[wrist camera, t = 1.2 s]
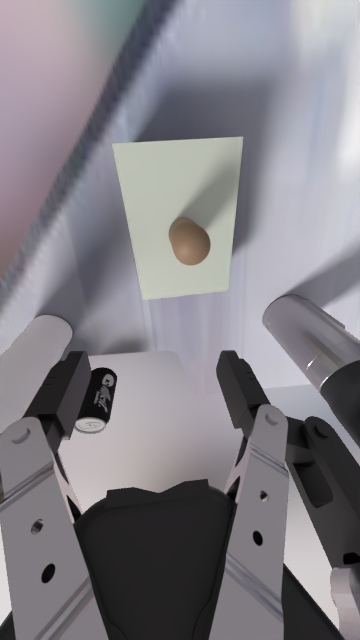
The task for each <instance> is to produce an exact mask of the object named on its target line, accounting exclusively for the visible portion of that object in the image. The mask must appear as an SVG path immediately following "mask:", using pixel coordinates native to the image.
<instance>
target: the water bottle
mask: <svg viewBox="0 0 360 640" xmlns="http://www.w3.org/2000/svg"><path fill="white" fill-rule="evenodd" d="M72 334H73V333H72V329H71V327H70V325H69V324H68V323H67V322H66V321H64V320H63V319H61V318H59V317H56V316H52V315H42V316H39V317H36V318H35V319H33V320H32V321H31V322H30V324H29V325H28V326H27V327H26V329H25V330H24V332H22V333H21V334H20V335H19V336H18V337H17V338H16V339H15V340H14V342H13V343H12V345H11V347H10V348H9V349H8V350H6V351H5V352H4V353H3V354H2V355H1V356H0V434H1V433H2V432H3V431H4V430H5V429H6V428H7V427H8V426H9V425H11V424H12V423H14V422H15V421H17V420H19V419H21V418H22V417H23V415H24V414H25V412H26V410H27V409H28V407H29V405H30V403H31V402H32V400H33V398H34V397H35V395H36V393H37V391H38V390H39V388H40V386H42V383H43V381H44V379H46V376H47V374H48V373H49V371H50V369H51V368H52V367H53V366H54V365H55V364H56V363H57V362H58V361H59V360H60V358H61V356H62V354H63V352H64V349H65V348H66V346H67V345H68V344H69V342H70V340H71V338H72Z"/></svg>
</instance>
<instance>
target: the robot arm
mask: <svg viewBox="0 0 360 640" xmlns="http://www.w3.org/2000/svg"><path fill="white" fill-rule="evenodd" d="M263 324H264V326H265V327H266V328H267V330H268V331H269V332H270V333H271V334H272V336H273V337H274V338H275V339H276V341H277V342H278V343H279V344H280V345H281V347H282V348H283V349H284V350H285V352H286V353H287V354H288V355H289V356H290V358H291V359H292V360H293V361H294V363H295V364H296V365H297V366H298V367H299V369H300V370H301V371H302V372H303V373H304V375H305V376H306V377H307V378H308V379H309V381H310V382H311V383H312V384H313V385H314V387H315V388H316V389H317V390H318V391H319V393H320V394H321V395H322V396H323V398H324V399H325V400H326V401H327V403H328V404H329V406H330V408H331V410H332V411H333V413H334V415H335V416H336V418H337V419H338V420H339V422H340V423H341V424H342V426H343V427H344V428H345V429H346V431H347V432H348V433H349V434H350V436H351V437H352V439H353V440H354V441H355V443H356V444H357V445H358V446H359V448H360V340H358V339H357V338H356V337H354V336H353V335H351V334H350V333H349V332H347V331H346V330H345V326H344V325H343V324H342V323H340V322H339V321H338V320H336V319H335V318H333V317H332V316H331V315H329V314H328V313H326V312H325V311H323V310H322V309H321V308H319V307H318V306H316V305H315V304H314V303H312V302H311V301H309V300H308V299H306V300H304V299H302V298H301V297H299V296H296V295H288V296H284V297H281V298H279V299H277V300H276V301H274V302H273V303H272V304H271V305H270V306H269V307H268V308H267V310H266V311H265V313H264V316H263ZM216 373H217V378H218V381H219V384H220V387H221V390H222V393H223V396H224V399H225V402H226V404H227V408H228V411H229V413H230V417H231V420H232V423H233V426H234V428H235V429H236V428H242V431H243V435H242V438H241V442H240V445H239V449H238V452H237V455H236V459H235V462H234V466H233V469H232V472H231V474H230V477H229V479H228V482H227V484H226V487H225V491H224V493H223V492H222V491H220V490H219V489H216V488H214V487H212V486H209V485H208V479H203V480H194V481H186V482H182V483H180V484H178V485H176V486H174V487H172V488H170V489H168V490H166V491H163V492H161V493H156V492H151V491H147V490H143V489H139V488H134V487H132V488H122V489H114V490H108V491H107V495H106V498H104V499H102V500H100V501H99V502H97V503H95V504H94V505H92V506H91V507H90V508H89V509H88V510H87V511H85V513H83V512H82V509H81V507H80V504H79V501H78V499H77V497H76V495H75V493H74V491H73V488H72V486H71V483H70V481H69V478H68V476H67V473H66V470H65V468H64V465H63V462H62V459H61V457H60V454H59V451H58V448H59V446H60V443H61V440H70V437H71V434H72V431H73V429H74V426H75V423H76V420H77V417H78V414H79V411H80V408H81V405H82V402H83V399H84V396H85V393H86V391H87V388H88V385H89V382H90V378H91V367H90V363H89V359H88V355H87V352H86V351H71V352H70V353H69V354H68V356H67V358H66V360H65V361H59V362H58V363H56V364H55V365H54V366H53V367H52V368H51V369H50V371H49V373H48V374H47V376H46V379H44V381H43V383H42V386H40V388H39V390H38V391H37V393H36V395H35V397H34V398H33V400H32V402H31V403H30V405H29V407H28V409H27V410H26V412H25V414H24V415H23V417H22V418H21V419H19V420H17V421H15V422H14V423H12V424H11V425H9V426H8V427H7V428H6V429H5V430H4V431H3V432H2V433H1V434H0V489H2V488H3V491H4V500H3V501H2V502H1V503H0V524H1V532H2V539H3V546H4V554H5V561H6V569H7V576H8V584H9V591H10V598H11V605H12V611H11V612H10V613H9V615H8V616H7V617H6V619H5V620H4V622H3V623H2V625H1V626H0V640H360V466H359V464H358V463H357V462H356V460H355V459H354V457H353V456H352V454H351V453H350V452H349V450H348V449H347V447H346V446H345V444H344V443H343V442H342V440H341V439H340V437H339V436H338V434H337V433H336V432H335V430H334V429H333V428H332V427H331V426H330V425H329V424H328V423H327V422H325V421H324V420H322V419H320V418H318V417H314V416H311V417H308V418H307V419H306V420H305V421H301V420H298V419H294V418H291V417H287V416H285V415H284V414H283V413H282V412H281V411H280V410H279V409H278V408H276V407H275V406H272V405H271V404H270V402H269V400H268V399H267V397H266V395H265V393H264V391H263V389H262V387H261V385H260V384H259V382H258V380H257V378H256V376H255V374H253V371H252V369H251V367H250V365H249V364H248V363H247V362H246V361H245V360H244V359H239V357H238V355H237V353H236V352H235V351H234V350H228V351H222V352H221V354H220V358H219V361H218V364H217V368H216ZM285 461H286V463H287V466H288V468H289V470H290V472H291V475H292V477H293V480H294V482H295V484H296V486H297V489H298V491H299V493H300V496H301V498H302V500H303V503H304V505H305V507H306V510H307V512H308V514H309V516H310V519H311V521H312V523H313V526H314V528H315V530H316V533H317V535H318V537H319V539H320V542H321V544H322V546H323V549H324V551H325V553H326V555H327V557H328V560H329V562H330V565H331V567H332V569H333V570H332V572H331V577H330V583H331V596H332V599H333V602H334V604H335V606H336V607H337V610H338V614H339V624H340V627H339V630H338V629H337V628H336V627H335V625H334V624H333V623H332V622H331V620H330V619H329V618H328V617H327V616H326V614H325V613H324V612H323V611H322V609H321V608H320V607H319V606H318V605H317V603H316V602H315V601H314V600H313V598H312V597H311V596H310V595H309V593H308V592H307V591H306V590H305V589H304V587H303V586H302V585H301V584H300V583H299V581H298V580H297V579H296V577H295V576H294V575H293V574H292V572H291V571H290V570H289V569H288V568H287V566H286V565H285V564H284V563H283V560H284V546H285V531H286V518H287V503H288V489H289V473H288V471H287V470H286V469H285V466H284V463H285Z"/></svg>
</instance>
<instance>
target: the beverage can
mask: <svg viewBox="0 0 360 640" xmlns="http://www.w3.org/2000/svg"><path fill="white" fill-rule="evenodd" d="M116 382H117V376H116V374H115V373H114V372H113V371H112V370H111V369H109V368H96V369H94V370H92V371H91V378H90V382H89V385H88V388H87V391H86V393H85V396H84V399H83V402H82V405H81V408H80V411H79V414H78V417H77V420H76V423H75V426H74V429H75V430H76V431H78V432H80V433H85V434H95V433H99V432H101V431H103V430H104V429H105V428H106V424H107V423H108V422H109V419H110V415H111V409H112V404H113V398H114V393H115V387H116Z"/></svg>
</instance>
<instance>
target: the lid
mask: <svg viewBox="0 0 360 640" xmlns="http://www.w3.org/2000/svg"><path fill="white" fill-rule="evenodd" d="M112 146H113V151H114V156H115V161H116V166H117V171H118V176H119V181H120V187H121V192H122V197H123V202H124V207H125V212H126V217H127V222H128V227H129V232H130V237H131V242H132V247H133V252H134V257H135V262H136V267H137V272H138V277H139V282H140V287H141V292H142V297H143V300H148V299H157V298H166V297H175V296H184V295H194V294H203V293H212V292H221V291H228V284H229V274H230V264H231V254H232V244H233V235H234V225H235V215H236V205H237V195H238V185H239V176H240V166H241V156H242V146H243V137H226V138H207V139H189V140H170V141H151V142H133V143H114V144H112Z"/></svg>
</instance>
